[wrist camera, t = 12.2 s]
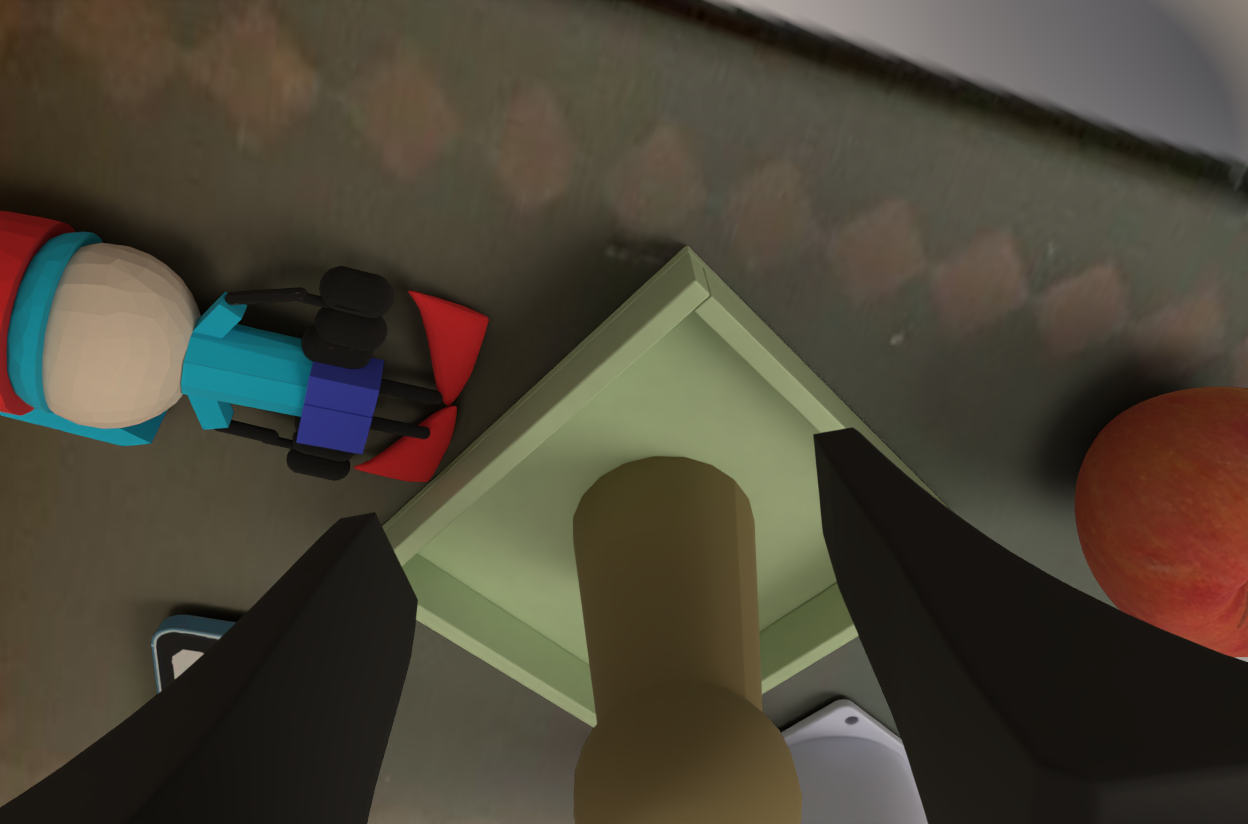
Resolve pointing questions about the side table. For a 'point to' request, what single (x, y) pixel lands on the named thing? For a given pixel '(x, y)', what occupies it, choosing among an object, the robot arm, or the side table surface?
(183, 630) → the smartphone
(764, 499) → the spice tray
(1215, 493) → the apple
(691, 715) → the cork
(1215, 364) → the side table surface
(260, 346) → the toy figure
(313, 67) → the side table surface
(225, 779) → the robot arm
